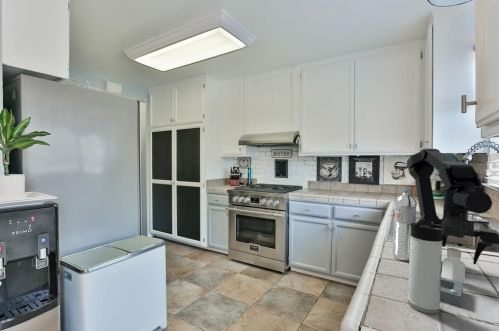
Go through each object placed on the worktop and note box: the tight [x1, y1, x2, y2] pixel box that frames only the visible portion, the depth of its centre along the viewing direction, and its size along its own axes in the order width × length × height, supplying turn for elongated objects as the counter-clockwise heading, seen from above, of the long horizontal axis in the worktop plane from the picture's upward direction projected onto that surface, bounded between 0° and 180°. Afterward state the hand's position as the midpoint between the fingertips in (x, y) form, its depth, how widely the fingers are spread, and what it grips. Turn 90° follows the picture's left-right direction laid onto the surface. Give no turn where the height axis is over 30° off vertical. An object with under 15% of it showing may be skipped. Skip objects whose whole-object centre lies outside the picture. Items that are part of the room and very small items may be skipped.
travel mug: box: [407, 223, 443, 315], centre depth 61 cm, size 6×7×20 cm
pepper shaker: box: [441, 247, 466, 285], centre depth 75 cm, size 4×4×10 cm
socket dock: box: [440, 276, 464, 308], centre depth 68 cm, size 10×9×3 cm
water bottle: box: [392, 189, 418, 262], centre depth 93 cm, size 7×7×25 cm
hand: (453, 259), depth 75 cm, fingers open, 9 cm apart
